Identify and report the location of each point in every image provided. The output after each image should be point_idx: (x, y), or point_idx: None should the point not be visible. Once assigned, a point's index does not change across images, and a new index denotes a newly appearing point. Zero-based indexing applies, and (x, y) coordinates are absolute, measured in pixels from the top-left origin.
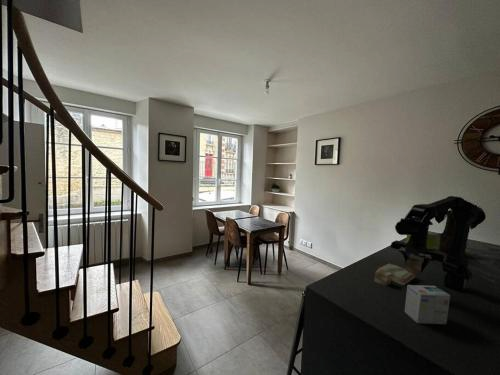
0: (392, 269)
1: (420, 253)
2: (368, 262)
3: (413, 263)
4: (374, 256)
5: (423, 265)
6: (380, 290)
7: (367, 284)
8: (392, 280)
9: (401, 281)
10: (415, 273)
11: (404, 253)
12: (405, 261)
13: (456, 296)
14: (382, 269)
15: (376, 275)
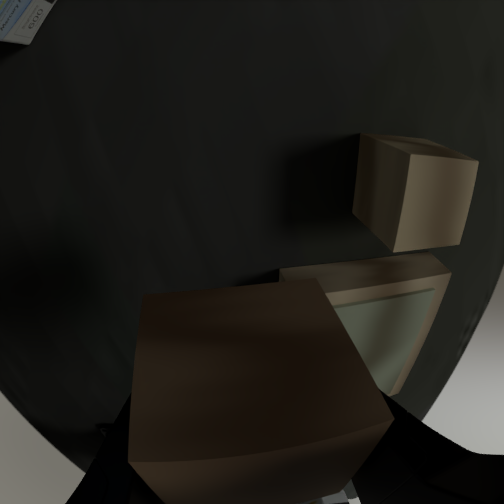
0: (382, 349)
1: (306, 502)
2: (457, 339)
3: (264, 415)
4: (431, 401)
5: (123, 457)
6: (359, 24)
7: (435, 49)
8: (350, 262)
9: (304, 278)
10: (194, 296)
11: (489, 484)
12: (382, 394)
13: (81, 383)
14: (431, 290)
15: (451, 150)
